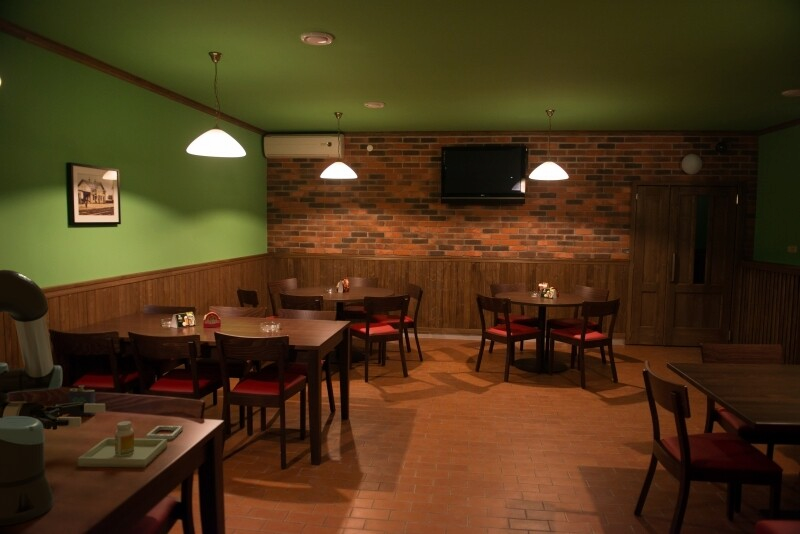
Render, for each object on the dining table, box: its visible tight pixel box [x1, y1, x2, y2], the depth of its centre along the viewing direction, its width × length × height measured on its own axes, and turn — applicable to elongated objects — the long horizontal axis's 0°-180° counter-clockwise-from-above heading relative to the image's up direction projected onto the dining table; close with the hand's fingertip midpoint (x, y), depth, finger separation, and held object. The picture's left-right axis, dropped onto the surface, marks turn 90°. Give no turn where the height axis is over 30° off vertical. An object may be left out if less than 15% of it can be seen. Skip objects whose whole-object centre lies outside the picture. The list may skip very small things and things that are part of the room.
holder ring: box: [145, 425, 184, 441], centre depth 190 cm, size 9×9×2 cm
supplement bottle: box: [114, 420, 135, 456], centre depth 172 cm, size 5×5×10 cm
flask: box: [68, 384, 96, 417], centre depth 208 cm, size 10×3×12 cm, turn 88°
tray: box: [77, 437, 168, 468], centre depth 172 cm, size 16×20×2 cm
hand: (93, 414), depth 172 cm, fingers open, 13 cm apart
